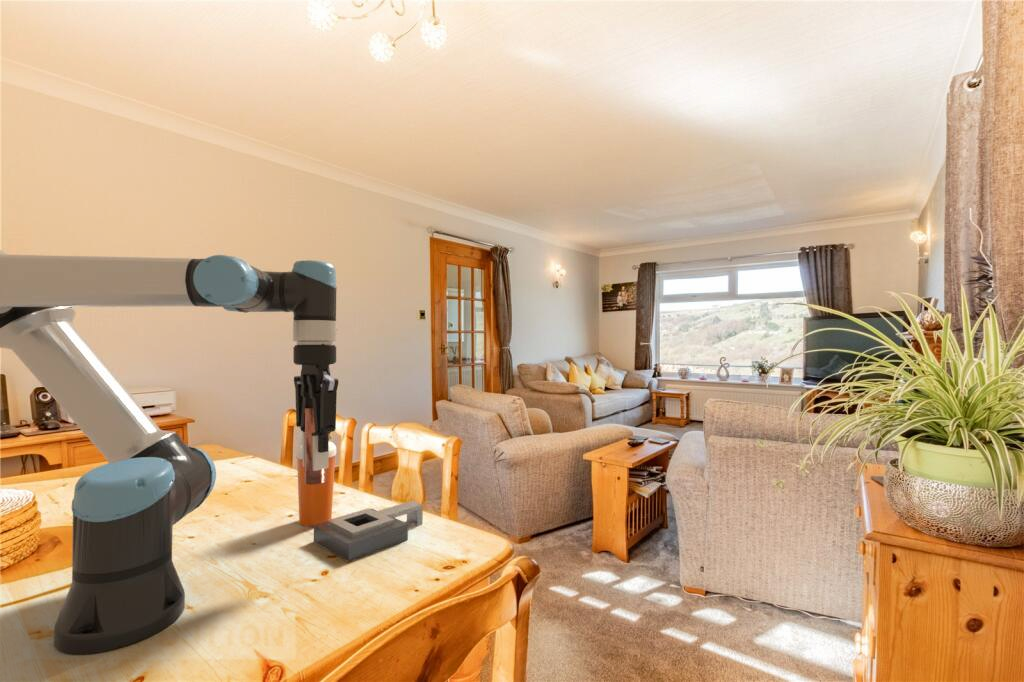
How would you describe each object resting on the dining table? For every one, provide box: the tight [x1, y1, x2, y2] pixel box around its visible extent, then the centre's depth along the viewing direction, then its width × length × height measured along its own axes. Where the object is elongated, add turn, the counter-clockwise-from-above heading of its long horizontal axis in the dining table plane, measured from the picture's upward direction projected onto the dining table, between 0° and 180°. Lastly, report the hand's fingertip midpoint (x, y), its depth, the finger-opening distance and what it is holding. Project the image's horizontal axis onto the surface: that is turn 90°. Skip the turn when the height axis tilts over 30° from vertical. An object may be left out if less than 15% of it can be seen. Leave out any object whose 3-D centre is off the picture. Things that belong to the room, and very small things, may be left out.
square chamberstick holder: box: [313, 508, 409, 563], centre depth 102 cm, size 14×14×4 cm
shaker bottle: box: [295, 436, 337, 527], centre depth 113 cm, size 9×9×20 cm
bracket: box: [327, 500, 424, 538], centre depth 105 cm, size 20×10×4 cm, turn 139°
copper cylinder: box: [305, 407, 326, 485], centre depth 90 cm, size 4×4×14 cm
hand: (315, 466), depth 90 cm, fingers closed on copper cylinder, 4 cm apart
